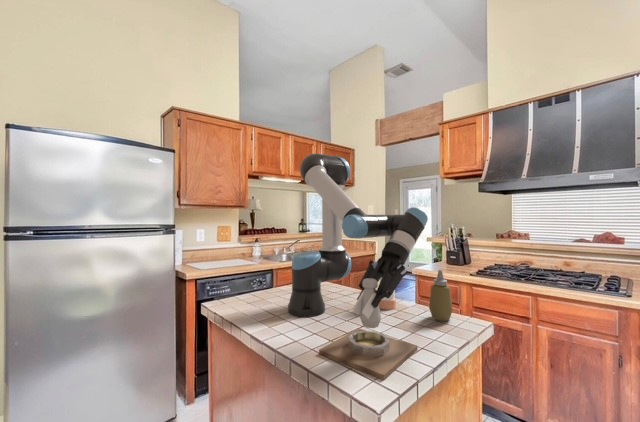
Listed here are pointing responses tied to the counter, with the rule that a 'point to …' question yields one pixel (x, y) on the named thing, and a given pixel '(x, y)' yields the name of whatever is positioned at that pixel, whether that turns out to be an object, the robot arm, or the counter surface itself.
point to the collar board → (370, 362)
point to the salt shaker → (369, 289)
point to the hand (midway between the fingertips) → (360, 313)
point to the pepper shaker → (388, 302)
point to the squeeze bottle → (440, 299)
